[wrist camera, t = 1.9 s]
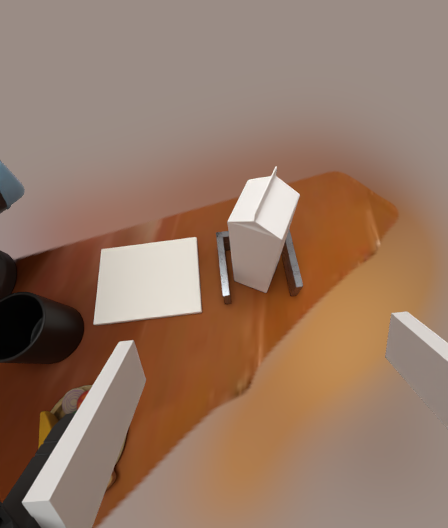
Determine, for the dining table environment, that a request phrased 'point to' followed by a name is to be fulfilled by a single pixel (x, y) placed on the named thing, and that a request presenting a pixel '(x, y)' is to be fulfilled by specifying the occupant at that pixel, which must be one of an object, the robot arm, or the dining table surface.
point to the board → (148, 282)
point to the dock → (287, 256)
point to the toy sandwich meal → (63, 407)
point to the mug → (37, 329)
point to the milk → (260, 229)
